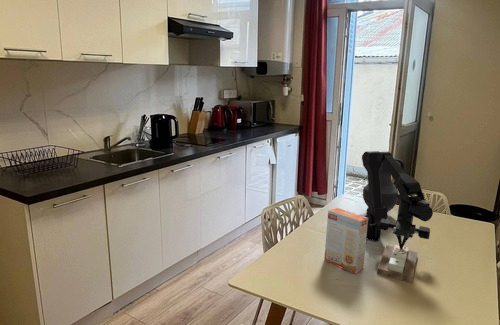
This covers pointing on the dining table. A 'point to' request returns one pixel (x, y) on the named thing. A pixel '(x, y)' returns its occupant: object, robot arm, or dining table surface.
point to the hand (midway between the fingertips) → (401, 248)
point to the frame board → (408, 267)
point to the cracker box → (346, 239)
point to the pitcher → (385, 188)
